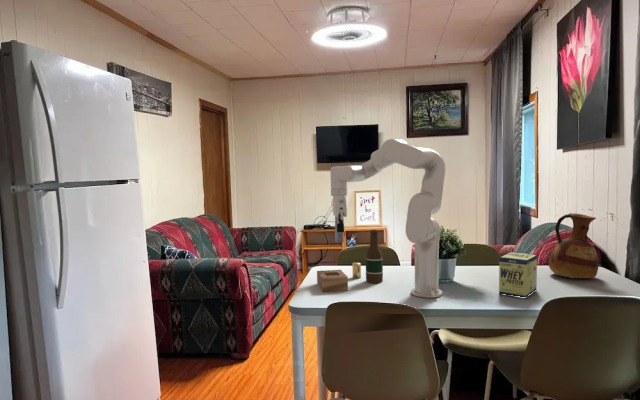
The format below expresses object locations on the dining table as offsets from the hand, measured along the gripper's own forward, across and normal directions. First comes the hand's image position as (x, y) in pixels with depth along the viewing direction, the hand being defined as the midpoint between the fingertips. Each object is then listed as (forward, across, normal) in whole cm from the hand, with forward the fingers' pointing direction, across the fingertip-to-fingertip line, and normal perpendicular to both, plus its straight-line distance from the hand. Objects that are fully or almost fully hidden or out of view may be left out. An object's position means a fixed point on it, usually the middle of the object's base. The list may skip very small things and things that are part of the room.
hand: (339, 231), depth 202 cm
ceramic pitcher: (+24, -20, -108) cm, 112 cm away
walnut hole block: (+23, -13, +6) cm, 27 cm away
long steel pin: (+5, 0, 0) cm, 5 cm away
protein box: (+24, -38, -67) cm, 80 cm away
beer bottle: (+23, -8, -14) cm, 29 cm away
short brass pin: (+23, +1, -8) cm, 25 cm away
